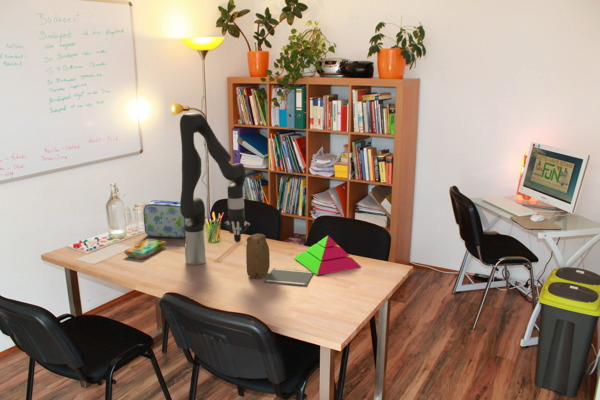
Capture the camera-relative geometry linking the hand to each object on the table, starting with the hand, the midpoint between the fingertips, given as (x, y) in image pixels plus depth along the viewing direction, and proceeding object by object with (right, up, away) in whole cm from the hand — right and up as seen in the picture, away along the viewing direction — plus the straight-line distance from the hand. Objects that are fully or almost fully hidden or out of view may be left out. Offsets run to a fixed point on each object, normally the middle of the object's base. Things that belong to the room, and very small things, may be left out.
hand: (237, 241), depth 251 cm
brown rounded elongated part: (+10, -16, +2) cm, 19 cm away
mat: (+24, -17, -1) cm, 30 cm away
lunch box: (-47, -1, +59) cm, 75 cm away
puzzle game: (-53, -9, +33) cm, 63 cm away
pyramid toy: (+43, -12, +16) cm, 47 cm away
